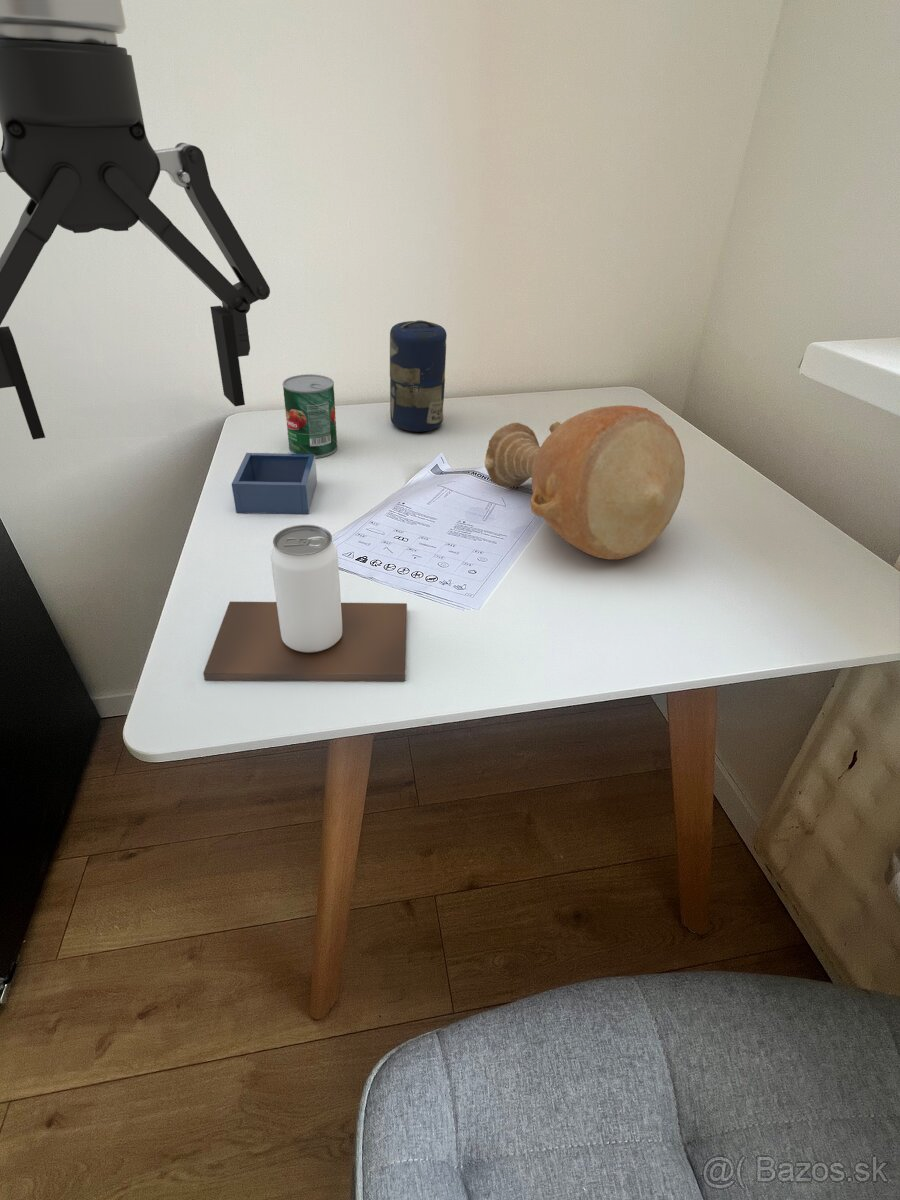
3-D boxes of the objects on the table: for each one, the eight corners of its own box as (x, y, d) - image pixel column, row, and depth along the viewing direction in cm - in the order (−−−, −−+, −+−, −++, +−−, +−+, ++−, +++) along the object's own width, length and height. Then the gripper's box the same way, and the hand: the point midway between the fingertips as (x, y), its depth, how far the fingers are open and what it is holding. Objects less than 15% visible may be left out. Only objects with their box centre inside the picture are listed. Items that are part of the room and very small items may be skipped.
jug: (579, 519, 75) (427, 449, 96) (637, 607, 88) (493, 528, 109) (693, 382, 76) (519, 343, 98) (734, 489, 89) (572, 434, 111)
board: (204, 680, 70) (203, 672, 69) (230, 608, 79) (229, 601, 79) (405, 681, 71) (405, 674, 70) (406, 610, 80) (406, 603, 80)
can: (341, 654, 72) (334, 556, 65) (277, 655, 71) (263, 557, 64) (344, 616, 77) (338, 522, 70) (285, 617, 77) (273, 522, 70)
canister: (389, 414, 128) (388, 312, 117) (440, 414, 129) (444, 312, 118) (391, 435, 120) (390, 327, 110) (446, 435, 121) (450, 328, 111)
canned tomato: (278, 449, 114) (271, 383, 107) (312, 434, 119) (306, 370, 113) (315, 463, 111) (309, 395, 104) (347, 446, 116) (344, 381, 109)
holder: (236, 513, 97) (231, 483, 94) (250, 480, 105) (246, 452, 102) (308, 514, 97) (306, 485, 95) (317, 481, 105) (314, 454, 103)
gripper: (-256, 12, 30) (-60, 470, 42) (298, 51, 41) (323, 404, 53) (-233, 20, 35) (-64, 426, 47) (254, 53, 46) (286, 374, 58)
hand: (141, 415), depth 50 cm, fingers open, 13 cm apart
